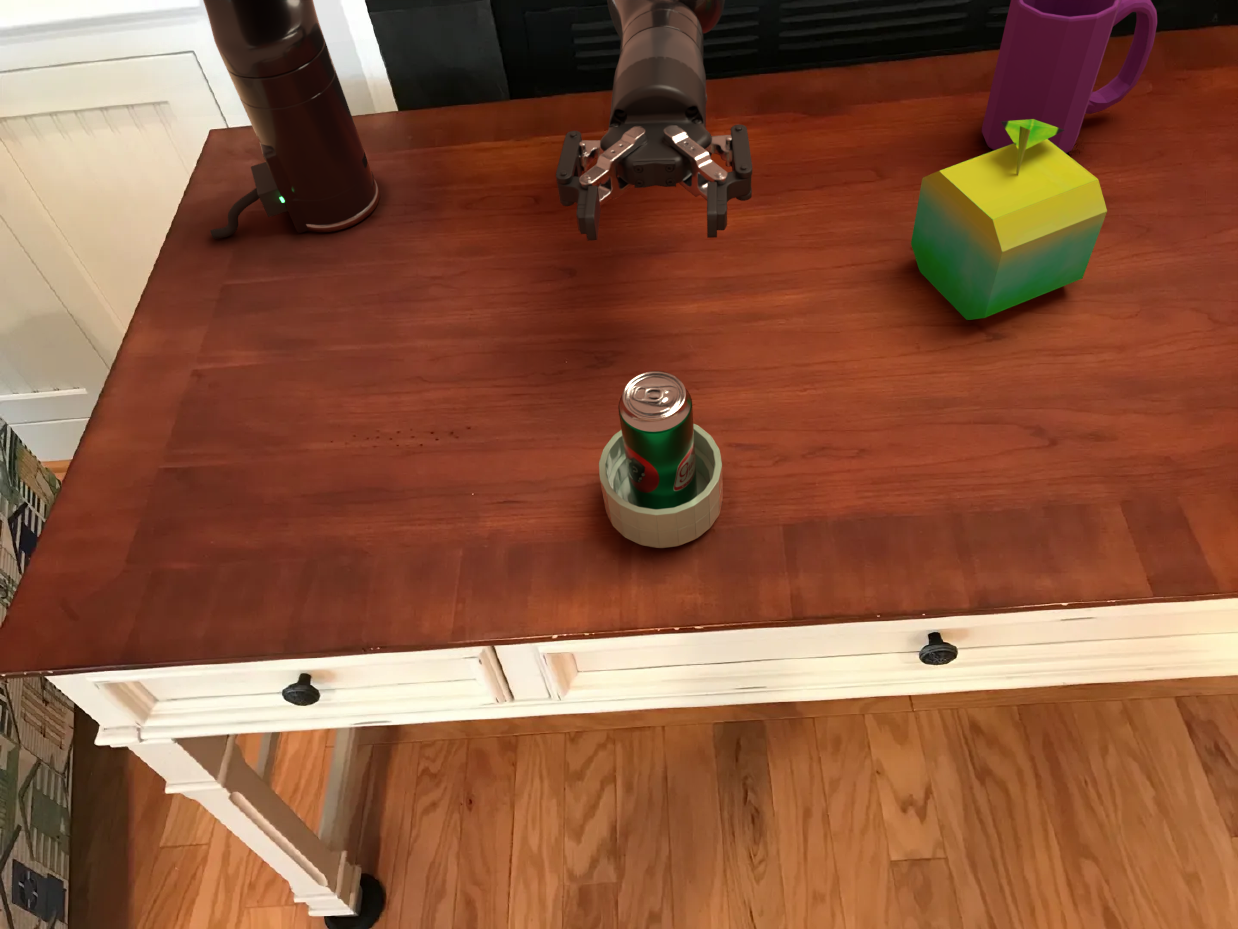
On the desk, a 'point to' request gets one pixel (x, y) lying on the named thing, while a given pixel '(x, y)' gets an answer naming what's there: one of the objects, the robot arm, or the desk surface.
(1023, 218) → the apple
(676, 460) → the soda can
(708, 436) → the bowl
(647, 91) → the robot arm
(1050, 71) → the mug
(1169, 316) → the desk surface
